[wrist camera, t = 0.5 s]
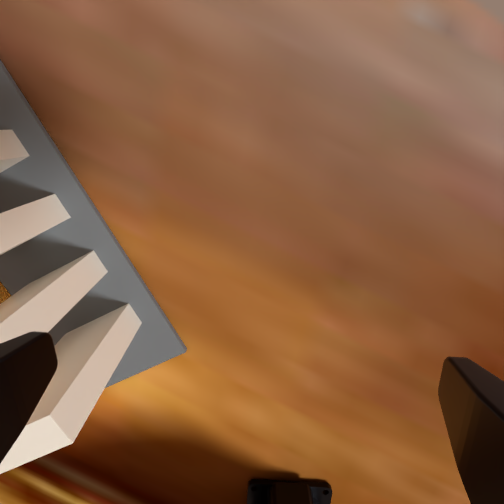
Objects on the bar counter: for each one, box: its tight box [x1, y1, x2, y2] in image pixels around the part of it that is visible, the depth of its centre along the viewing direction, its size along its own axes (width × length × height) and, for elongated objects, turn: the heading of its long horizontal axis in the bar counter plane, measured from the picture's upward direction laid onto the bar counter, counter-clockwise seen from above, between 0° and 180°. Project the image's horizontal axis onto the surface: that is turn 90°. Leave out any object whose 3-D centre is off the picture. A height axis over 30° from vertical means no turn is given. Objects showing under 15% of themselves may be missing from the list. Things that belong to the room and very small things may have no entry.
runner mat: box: [0, 60, 187, 388], centre depth 23 cm, size 24×8×1 cm, turn 27°
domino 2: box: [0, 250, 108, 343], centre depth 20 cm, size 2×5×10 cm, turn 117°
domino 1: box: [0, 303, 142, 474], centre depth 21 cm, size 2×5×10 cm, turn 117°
